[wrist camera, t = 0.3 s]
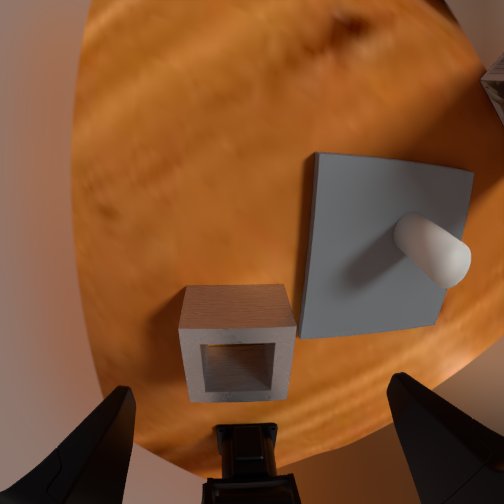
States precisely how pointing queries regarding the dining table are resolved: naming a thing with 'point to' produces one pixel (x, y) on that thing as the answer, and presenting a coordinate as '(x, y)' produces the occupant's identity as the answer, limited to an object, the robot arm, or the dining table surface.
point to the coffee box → (495, 86)
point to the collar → (237, 342)
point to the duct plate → (382, 244)
